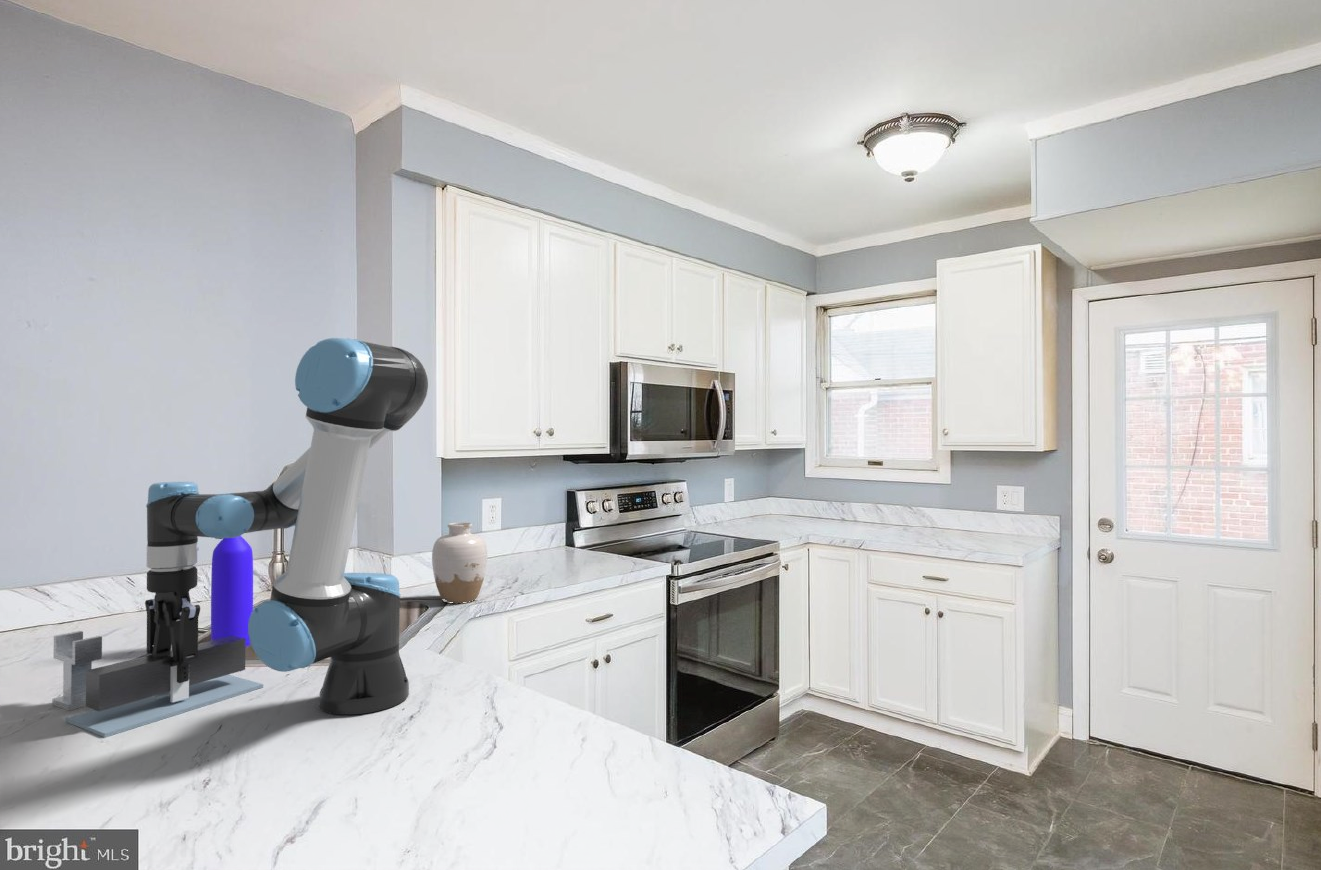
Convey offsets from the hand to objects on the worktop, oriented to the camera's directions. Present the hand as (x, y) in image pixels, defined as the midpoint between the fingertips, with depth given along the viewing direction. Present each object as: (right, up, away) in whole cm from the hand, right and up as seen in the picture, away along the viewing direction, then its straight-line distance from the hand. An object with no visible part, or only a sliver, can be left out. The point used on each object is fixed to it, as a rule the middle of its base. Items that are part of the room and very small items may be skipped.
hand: (171, 696), depth 126 cm
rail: (0, +2, 0) cm, 2 cm away
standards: (-13, -1, +7) cm, 15 cm away
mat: (0, -1, 0) cm, 1 cm away
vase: (+28, -2, +82) cm, 87 cm away
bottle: (-11, -2, +35) cm, 37 cm away
